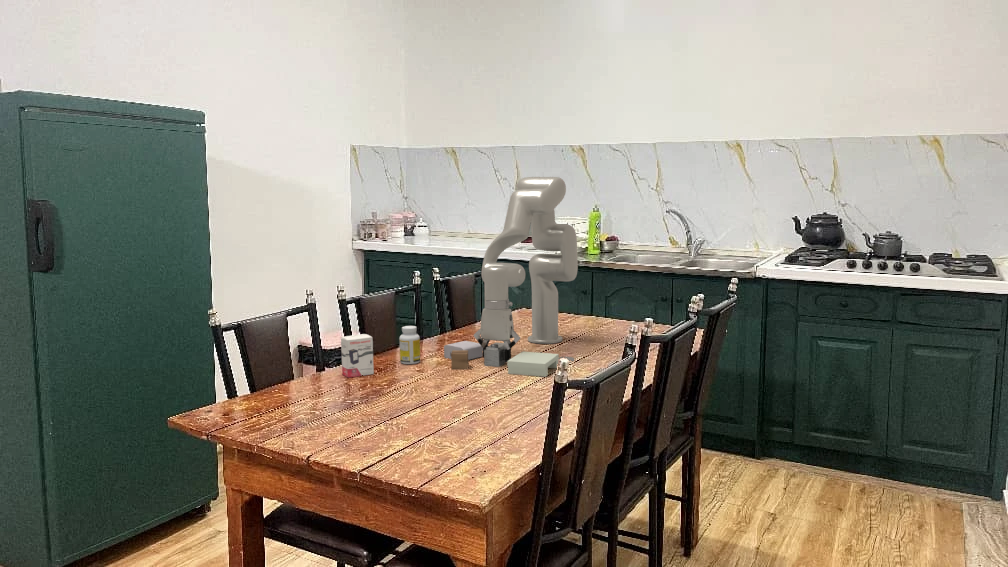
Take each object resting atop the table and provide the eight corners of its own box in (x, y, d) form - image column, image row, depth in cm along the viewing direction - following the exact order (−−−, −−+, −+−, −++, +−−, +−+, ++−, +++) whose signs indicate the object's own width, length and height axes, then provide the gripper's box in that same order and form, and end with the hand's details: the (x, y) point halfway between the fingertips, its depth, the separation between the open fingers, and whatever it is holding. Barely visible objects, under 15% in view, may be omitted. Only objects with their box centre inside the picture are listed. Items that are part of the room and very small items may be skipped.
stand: (522, 363, 257) (522, 351, 256) (558, 366, 253) (558, 354, 252) (507, 373, 244) (507, 361, 243) (545, 377, 240) (545, 364, 239)
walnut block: (452, 365, 255) (452, 350, 254) (468, 365, 255) (468, 350, 254) (451, 369, 250) (451, 354, 249) (467, 369, 250) (467, 353, 249)
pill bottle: (422, 360, 263) (421, 325, 261) (418, 365, 256) (417, 329, 255) (402, 360, 263) (401, 325, 262) (398, 364, 257) (397, 328, 255)
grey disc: (560, 359, 264) (560, 356, 264) (575, 360, 262) (575, 357, 262) (557, 362, 259) (557, 359, 259) (572, 363, 258) (572, 360, 258)
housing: (495, 359, 263) (495, 340, 262) (509, 361, 261) (509, 341, 260) (484, 366, 255) (484, 345, 254) (498, 367, 253) (498, 346, 252)
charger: (495, 354, 271) (463, 362, 260) (475, 350, 277) (444, 358, 266) (495, 340, 270) (463, 348, 259) (475, 337, 276) (443, 344, 265)
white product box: (348, 378, 241) (346, 339, 239) (341, 374, 245) (340, 336, 243) (374, 374, 245) (373, 336, 244) (367, 370, 249) (366, 333, 248)
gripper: (526, 304, 256) (526, 359, 258) (475, 301, 262) (476, 355, 264) (518, 308, 249) (518, 364, 251) (466, 305, 255) (467, 360, 257)
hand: (497, 359), depth 258 cm, fingers open, 6 cm apart
